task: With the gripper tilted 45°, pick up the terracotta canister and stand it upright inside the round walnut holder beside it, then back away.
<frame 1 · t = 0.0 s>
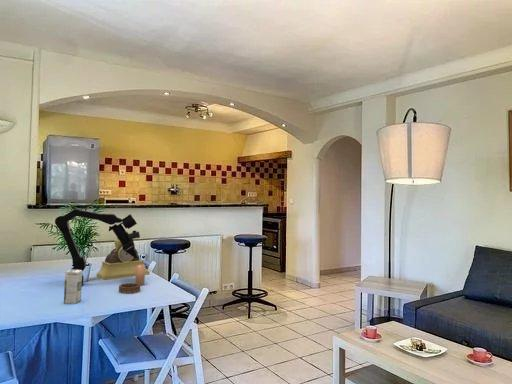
hand: (136, 256, 218), 15 cm above the table, tool tilted 35°, fingers open, 9 cm apart
syrup box: (72, 302, 177), on the table
decorative clock: (123, 276, 236), on the table
terracotta canister: (139, 284, 212), on the table
walnut holder: (129, 291, 198), on the table
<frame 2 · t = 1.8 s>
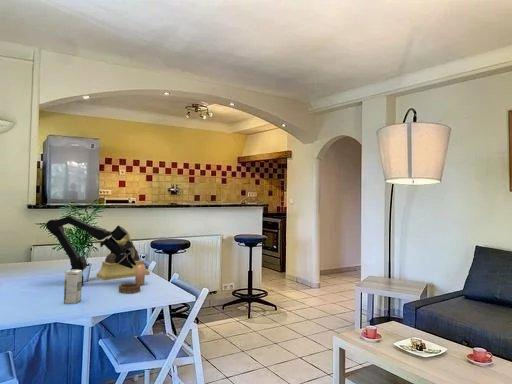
hand: (134, 266, 212), 10 cm above the table, tool tilted 45°, fingers open, 9 cm apart
nothing on the table moved.
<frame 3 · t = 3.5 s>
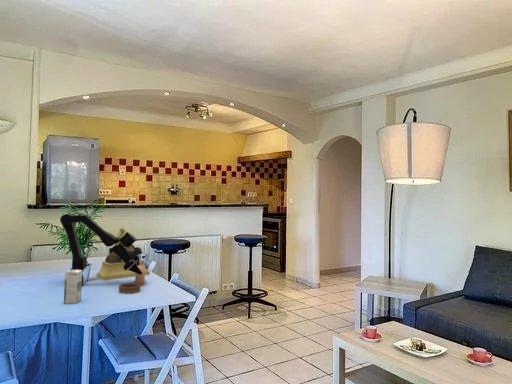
hand: (142, 273, 213), 7 cm above the table, tool tilted 45°, fingers closed on terracotta canister, 5 cm apart
terracotta canister: (139, 284, 212), on the table, touching gripper
everything else where it was.
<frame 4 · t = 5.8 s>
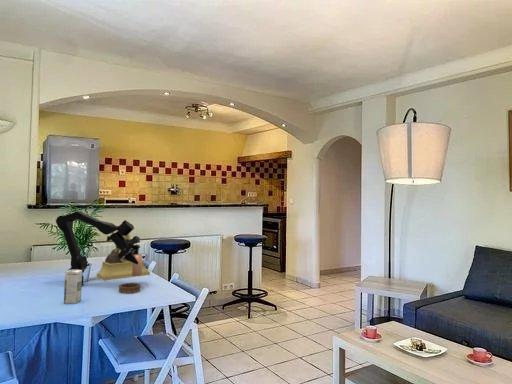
hand: (139, 262, 206), 13 cm above the table, tool tilted 45°, fingers closed on terracotta canister, 5 cm apart
terracotta canister: (136, 274, 206), point 7 cm above the table, touching gripper
everything else where it was.
when the fingers open (8 cm above the table, at t = 8.0 s): terracotta canister drops 1 cm, resting on walnut holder.
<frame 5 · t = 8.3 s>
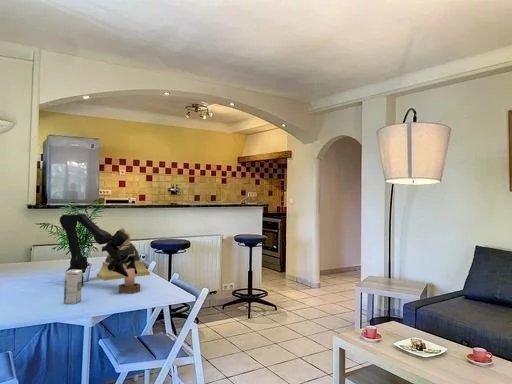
hand: (132, 274, 198), 9 cm above the table, tool tilted 45°, fingers open, 8 cm apart
terracotta canister: (129, 289, 198), point 1 cm above the table, touching walnut holder
everything else where it was.
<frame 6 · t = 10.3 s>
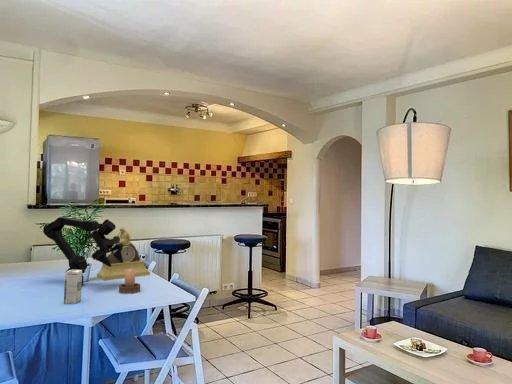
hand: (116, 264, 202), 13 cm above the table, tool tilted 40°, fingers open, 9 cm apart
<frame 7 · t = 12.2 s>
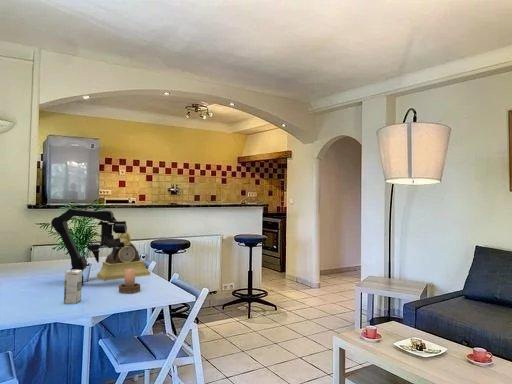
hand: (106, 261, 210), 13 cm above the table, tool pointing down, fingers open, 9 cm apart
at the end: terracotta canister 0.1 cm off-centre on the walnut holder, point 0.5 cm above the walnut holder's base; terracotta canister tilted 0°; the gripper is holding nothing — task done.
